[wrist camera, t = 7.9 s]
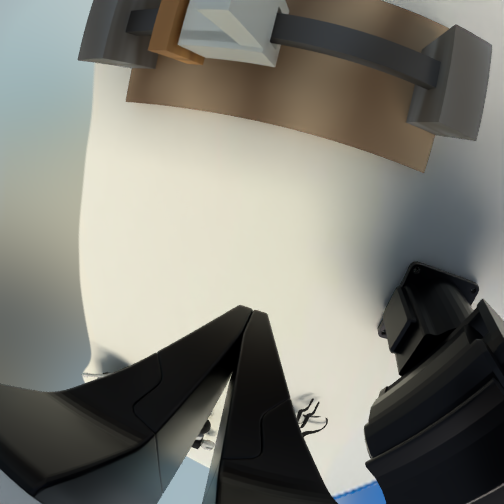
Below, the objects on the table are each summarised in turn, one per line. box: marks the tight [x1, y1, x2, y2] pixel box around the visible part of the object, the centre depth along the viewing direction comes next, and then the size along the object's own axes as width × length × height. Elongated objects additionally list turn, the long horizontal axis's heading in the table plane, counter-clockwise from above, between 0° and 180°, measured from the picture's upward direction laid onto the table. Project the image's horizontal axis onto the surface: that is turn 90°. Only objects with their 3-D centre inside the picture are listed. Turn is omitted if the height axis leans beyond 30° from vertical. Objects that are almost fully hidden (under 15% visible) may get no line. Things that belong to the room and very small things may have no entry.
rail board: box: [78, 0, 492, 173], centre depth 12 cm, size 20×10×7 cm, turn 78°
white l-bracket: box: [178, 0, 289, 67], centre depth 9 cm, size 4×4×8 cm
